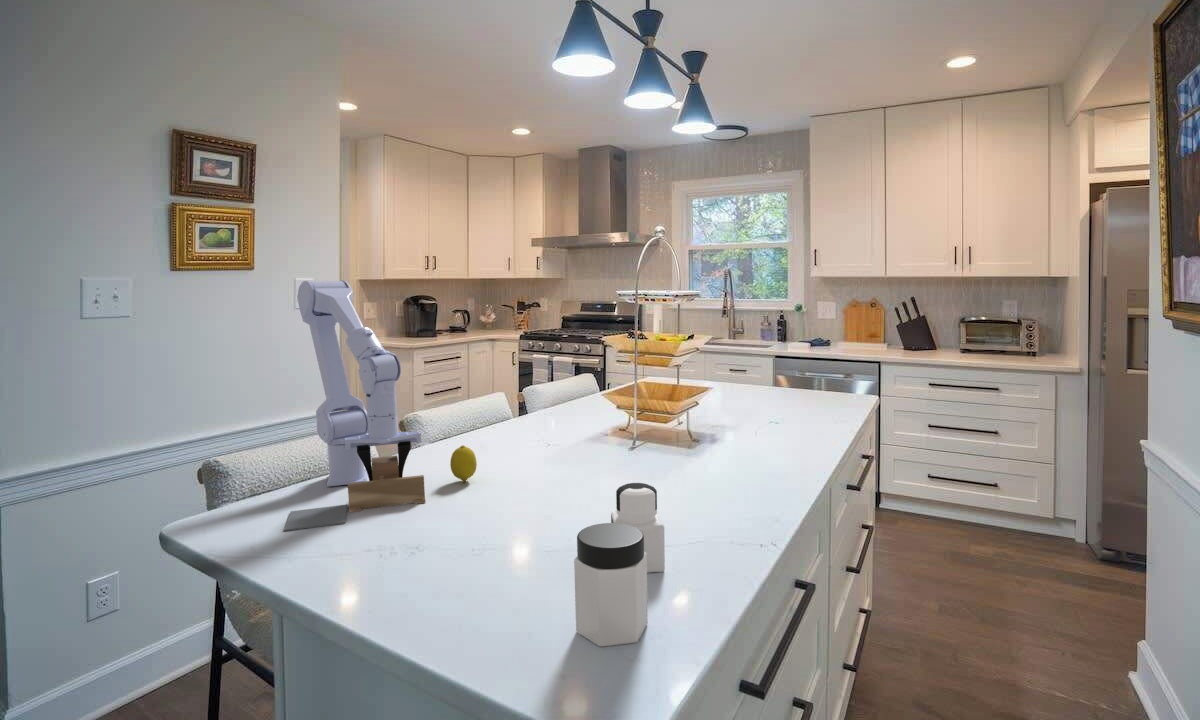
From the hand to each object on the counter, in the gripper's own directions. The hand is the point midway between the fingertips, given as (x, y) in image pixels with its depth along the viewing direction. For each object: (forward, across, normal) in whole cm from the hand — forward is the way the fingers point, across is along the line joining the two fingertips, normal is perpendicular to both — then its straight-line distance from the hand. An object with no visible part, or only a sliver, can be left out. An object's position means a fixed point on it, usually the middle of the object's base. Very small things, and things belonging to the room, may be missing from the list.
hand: (385, 479), depth 132 cm
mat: (+3, -12, -9) cm, 16 cm away
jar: (+3, +25, -65) cm, 70 cm away
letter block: (+2, 0, 0) cm, 2 cm away
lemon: (+3, +16, +3) cm, 17 cm away
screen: (+3, 0, -7) cm, 7 cm away
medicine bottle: (+3, +35, -49) cm, 60 cm away
